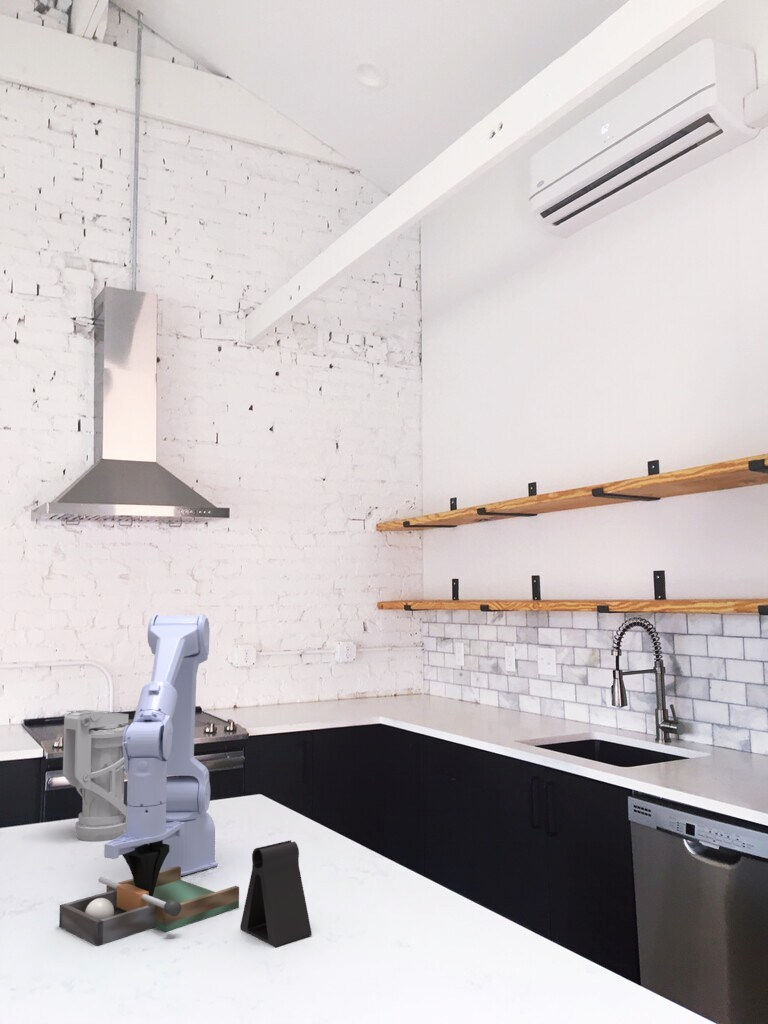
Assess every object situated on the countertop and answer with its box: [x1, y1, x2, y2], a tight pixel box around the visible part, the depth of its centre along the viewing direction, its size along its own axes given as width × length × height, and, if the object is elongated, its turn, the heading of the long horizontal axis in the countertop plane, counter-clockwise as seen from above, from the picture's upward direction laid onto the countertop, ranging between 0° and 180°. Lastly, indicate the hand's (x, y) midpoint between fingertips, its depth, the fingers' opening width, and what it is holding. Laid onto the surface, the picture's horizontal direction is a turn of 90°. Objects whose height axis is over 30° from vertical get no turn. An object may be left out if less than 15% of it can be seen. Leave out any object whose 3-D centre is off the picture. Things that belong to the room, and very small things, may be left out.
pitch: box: [58, 866, 240, 946], centre depth 131 cm, size 22×16×3 cm
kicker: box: [97, 876, 181, 916], centre depth 129 cm, size 2×20×3 cm, turn 48°
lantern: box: [62, 709, 129, 842], centre depth 176 cm, size 13×10×25 cm
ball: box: [85, 898, 114, 920], centre depth 125 cm, size 4×4×4 cm
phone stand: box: [240, 839, 313, 948], centre depth 124 cm, size 9×6×12 cm, turn 41°
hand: (145, 896), depth 131 cm, fingers closed
